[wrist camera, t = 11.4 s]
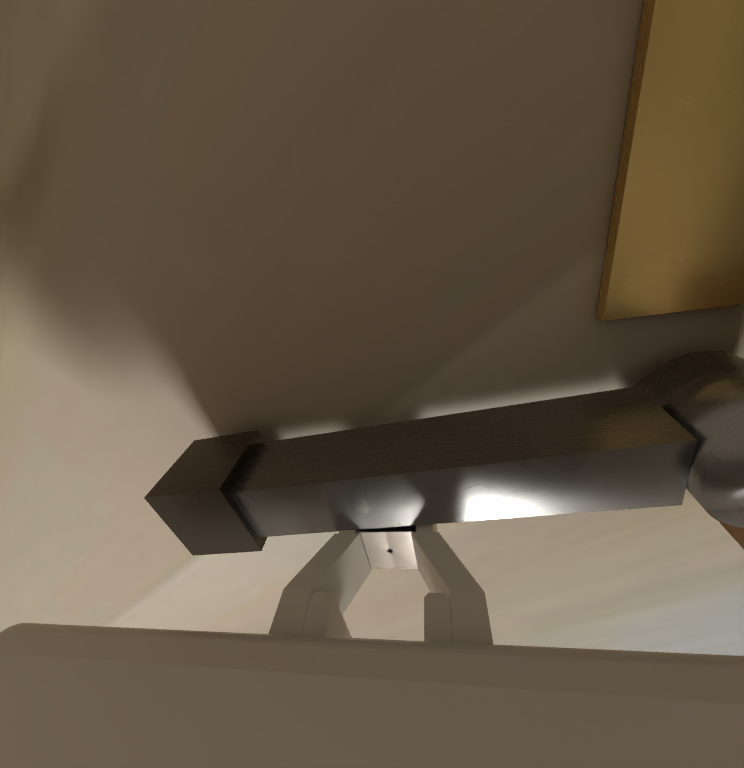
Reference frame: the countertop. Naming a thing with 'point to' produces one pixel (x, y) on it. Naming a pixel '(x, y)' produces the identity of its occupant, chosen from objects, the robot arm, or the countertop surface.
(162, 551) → the countertop surface
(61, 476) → the countertop surface
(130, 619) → the countertop surface
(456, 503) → the swing bar
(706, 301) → the strike pad
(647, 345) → the countertop surface
